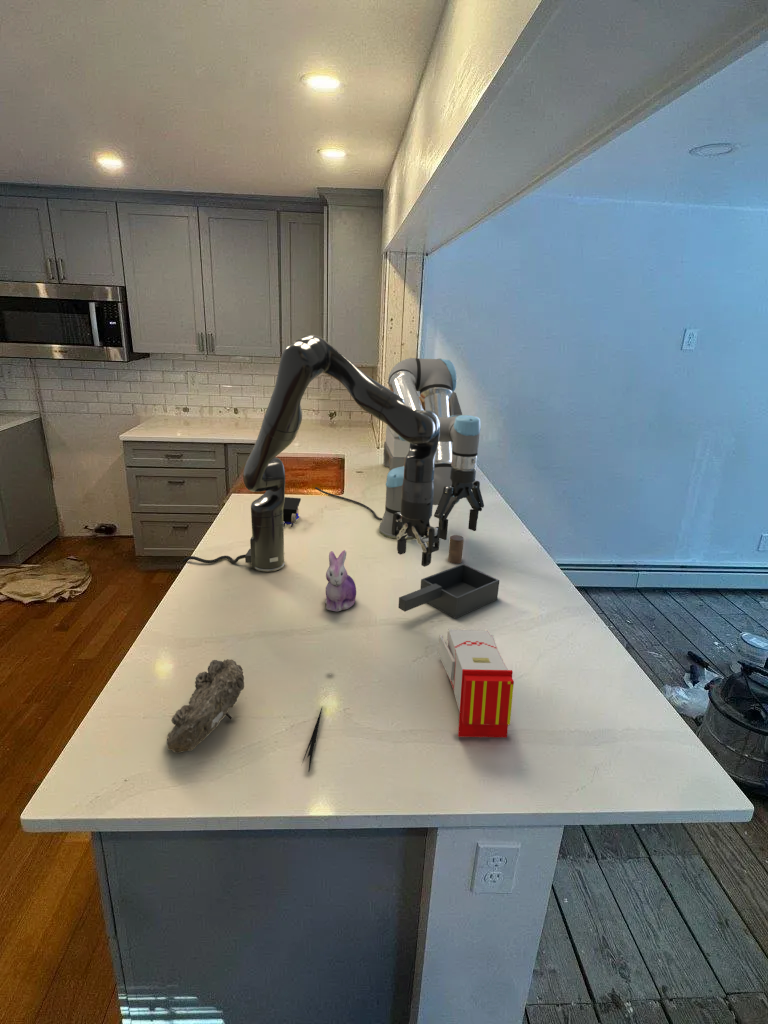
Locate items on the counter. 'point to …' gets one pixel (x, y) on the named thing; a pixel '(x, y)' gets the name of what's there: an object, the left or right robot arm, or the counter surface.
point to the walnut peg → (455, 549)
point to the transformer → (399, 449)
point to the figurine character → (290, 510)
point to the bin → (454, 591)
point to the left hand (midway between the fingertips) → (413, 559)
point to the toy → (478, 682)
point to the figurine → (339, 584)
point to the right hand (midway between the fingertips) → (457, 534)
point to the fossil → (206, 705)
